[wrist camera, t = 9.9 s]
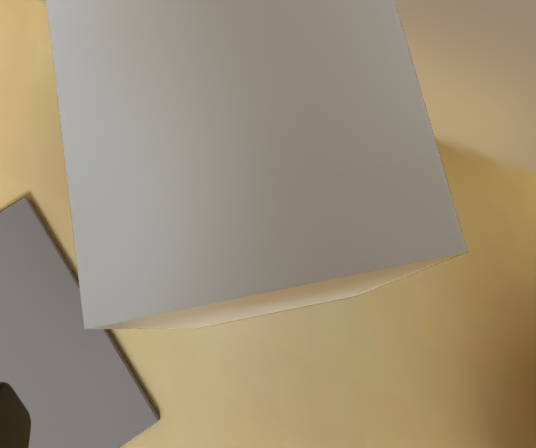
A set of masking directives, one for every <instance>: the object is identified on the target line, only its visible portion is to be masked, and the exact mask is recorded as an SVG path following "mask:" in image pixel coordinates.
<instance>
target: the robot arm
mask: <svg viewBox="0 0 536 448" xmlns="http://www.w3.org/2000/svg"><path fill="white" fill-rule="evenodd" d="M30 433H31V417H30V414H29V412H28V410H27V408H26V407H25V405H24V404H23V403H22V401H21V400H20V398H19V397H18V395H17V394H16V392H15V391H14V389H13V388H12V386H11V385H10V384H8V383H6V382H0V448H29V441H30Z"/></svg>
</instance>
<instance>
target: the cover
mask: <svg viewBox="0 0 536 448" xmlns="http://www.w3.org/2000/svg"><path fill="white" fill-rule="evenodd" d="M46 4H47V13H48V21H49V30H50V38H51V47H52V55H53V64H54V73H55V81H56V90H57V98H58V107H59V116H60V124H61V133H62V141H63V150H64V159H65V167H66V176H67V184H68V193H69V201H70V210H71V219H72V227H73V236H74V244H75V253H76V262H77V270H78V279H79V287H80V296H81V304H82V313H83V322H84V329H169V328H201V327H206V326H211V325H216V324H221V323H225V322H230V321H235V320H240V319H245V318H250V317H255V316H260V315H265V314H270V313H275V312H280V311H285V310H290V309H294V308H299V307H304V306H309V305H314V304H319V303H324V302H329V301H334V300H339V299H344V298H349V297H354V296H358V295H361V294H363V293H366V292H368V291H371V290H373V289H376V288H378V287H381V286H383V285H386V284H388V283H391V282H393V281H396V280H398V279H401V278H403V277H406V276H408V275H411V274H413V273H416V272H418V271H421V270H423V269H426V268H428V267H431V266H433V265H436V264H438V263H441V262H443V261H446V260H448V259H451V258H454V257H456V256H459V255H461V254H464V253H466V252H467V248H466V245H465V241H464V238H463V234H462V231H461V228H460V224H459V221H458V217H457V214H456V210H455V207H454V203H453V200H452V196H451V193H450V189H449V186H448V183H447V179H446V176H445V172H444V169H443V165H442V162H441V158H440V155H439V151H438V148H437V144H436V141H435V138H434V134H433V131H432V127H431V124H430V120H429V117H428V113H427V110H426V107H425V103H424V100H423V96H422V93H421V89H420V86H419V82H418V79H417V75H416V72H415V68H414V65H413V61H412V58H411V54H410V51H409V48H408V44H407V41H406V37H405V34H404V30H403V27H402V23H401V20H400V17H399V13H398V10H397V6H396V3H395V0H46Z"/></svg>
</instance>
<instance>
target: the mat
mask: <svg viewBox="0 0 536 448" xmlns="http://www.w3.org/2000/svg"><path fill="white" fill-rule="evenodd" d="M0 382H6V383H8V384H10V385H11V386H12V388H13V389H14V391H15V392H16V394H17V395H18V397H19V398H20V400H21V401H22V403H23V404H24V405H25V407H26V408H27V410H28V412H29V414H30V417H31V433H30V441H29V448H120V447H121V446H123V445H124V444H125V443H127V442H128V441H130V440H131V439H132V438H134V437H135V436H137V435H138V434H140V433H141V432H142V431H144V430H145V429H147V428H148V427H150V426H151V425H152V424H154V423H155V422H157V421H158V420H159V419H160V418H159V416H158V415H157V413H156V411H155V410H154V408H153V406H152V405H151V403H150V401H149V400H148V398H147V396H146V394H145V393H144V391H143V389H142V388H141V386H140V384H139V383H138V381H137V379H136V378H135V376H134V374H133V373H132V371H131V369H130V368H129V366H128V364H127V363H126V361H125V359H124V358H123V356H122V354H121V353H120V351H119V349H118V347H117V346H116V344H115V342H114V341H113V339H112V337H111V336H110V334H109V332H108V331H107V329H84V322H83V313H82V304H81V296H80V287H79V282H78V280H77V279H76V277H75V275H74V274H73V272H72V270H71V269H70V267H69V265H68V264H67V262H66V260H65V259H64V257H63V255H62V253H61V252H60V250H59V248H58V247H57V245H56V243H55V242H54V240H53V238H52V237H51V235H50V233H49V232H48V230H47V228H46V227H45V225H44V223H43V222H42V220H41V218H40V217H39V215H38V213H37V212H36V210H35V208H34V206H33V205H32V203H31V201H30V200H29V199H28V198H26V197H24V198H22V199H21V200H19V201H17V202H16V203H14V204H13V205H11V206H9V207H8V208H6V209H5V210H3V211H1V212H0Z"/></svg>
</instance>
